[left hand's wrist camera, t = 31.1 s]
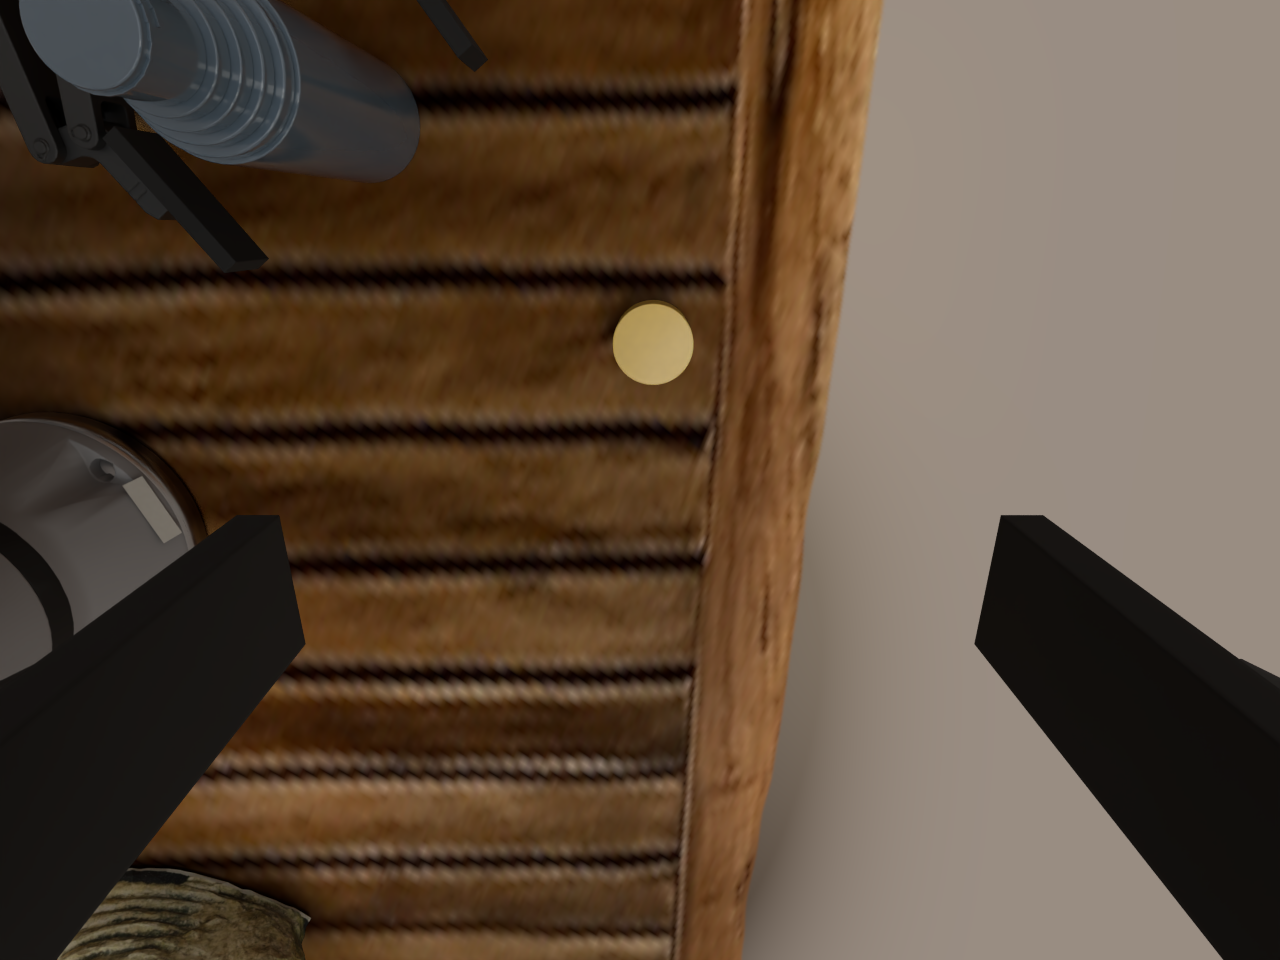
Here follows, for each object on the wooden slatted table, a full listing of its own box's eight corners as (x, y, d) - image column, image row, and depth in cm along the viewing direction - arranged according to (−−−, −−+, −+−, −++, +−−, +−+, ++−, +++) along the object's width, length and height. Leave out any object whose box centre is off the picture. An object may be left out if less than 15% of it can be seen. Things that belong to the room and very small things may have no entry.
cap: (701, 311, 38) (703, 316, 36) (678, 386, 39) (680, 394, 37) (625, 290, 37) (624, 293, 36) (605, 366, 39) (603, 373, 37)
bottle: (433, 172, 35) (230, 128, 18) (325, 192, 36) (28, 166, 19) (401, 42, 33) (139, -145, 16) (287, 65, 34) (-86, -95, 17)
